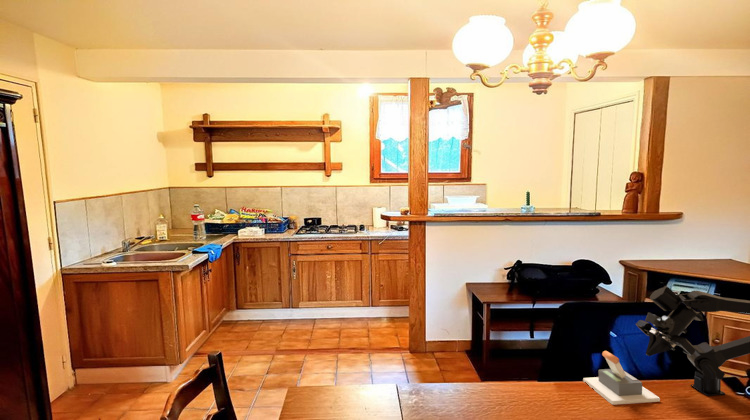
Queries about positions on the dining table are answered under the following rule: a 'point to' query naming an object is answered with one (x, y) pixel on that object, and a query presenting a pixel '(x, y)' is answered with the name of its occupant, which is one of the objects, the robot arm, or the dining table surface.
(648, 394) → the box
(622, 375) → the breaker lever
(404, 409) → the dining table surface
